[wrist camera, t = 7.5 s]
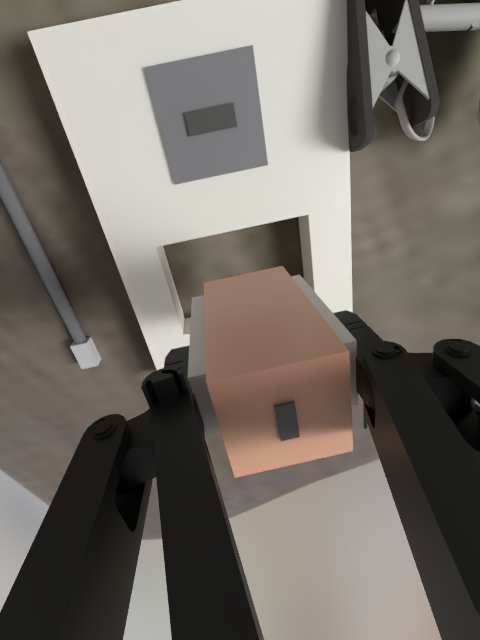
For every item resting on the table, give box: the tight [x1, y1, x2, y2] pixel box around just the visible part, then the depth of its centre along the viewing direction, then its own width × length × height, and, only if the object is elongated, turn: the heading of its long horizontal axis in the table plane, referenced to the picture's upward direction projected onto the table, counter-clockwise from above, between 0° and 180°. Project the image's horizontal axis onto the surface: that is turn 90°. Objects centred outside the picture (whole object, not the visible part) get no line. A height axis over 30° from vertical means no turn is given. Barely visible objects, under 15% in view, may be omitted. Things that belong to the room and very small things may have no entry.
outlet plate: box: [27, 0, 352, 370], centre depth 19 cm, size 20×14×3 cm
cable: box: [0, 162, 101, 369], centre depth 20 cm, size 16×1×1 cm, turn 11°
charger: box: [204, 266, 353, 478], centre depth 13 cm, size 4×4×8 cm
